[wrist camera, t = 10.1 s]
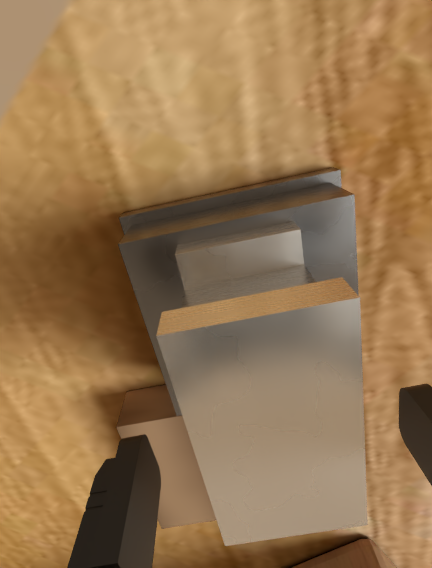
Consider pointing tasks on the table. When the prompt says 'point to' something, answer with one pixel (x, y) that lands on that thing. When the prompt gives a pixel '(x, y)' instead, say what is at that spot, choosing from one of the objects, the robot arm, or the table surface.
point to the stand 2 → (233, 219)
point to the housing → (269, 385)
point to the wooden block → (351, 557)
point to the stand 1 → (168, 455)
